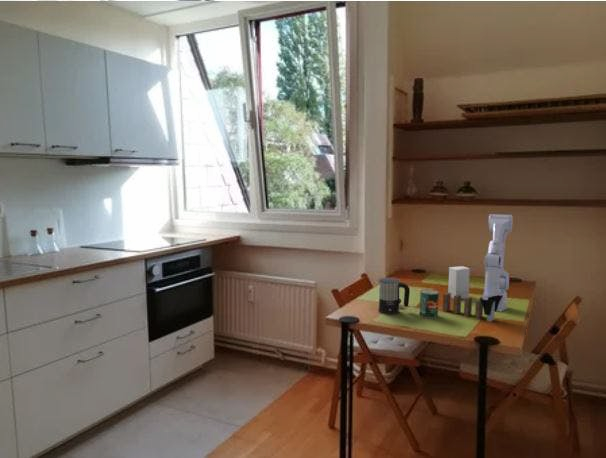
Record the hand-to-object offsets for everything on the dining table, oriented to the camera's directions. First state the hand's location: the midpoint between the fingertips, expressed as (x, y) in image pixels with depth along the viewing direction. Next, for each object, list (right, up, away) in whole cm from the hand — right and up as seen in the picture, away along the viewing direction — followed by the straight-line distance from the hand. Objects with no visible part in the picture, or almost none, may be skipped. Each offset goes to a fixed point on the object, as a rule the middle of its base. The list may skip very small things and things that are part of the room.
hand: (490, 313), depth 194 cm
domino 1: (-14, -2, +14) cm, 20 cm away
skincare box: (-1, +1, +36) cm, 36 cm away
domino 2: (-11, -2, +11) cm, 15 cm away
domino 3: (-7, -2, +7) cm, 10 cm away
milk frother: (-40, -1, +16) cm, 43 cm away
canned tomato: (-25, -3, +6) cm, 26 cm away
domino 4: (-4, -3, +4) cm, 6 cm away
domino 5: (0, -3, 0) cm, 3 cm away
